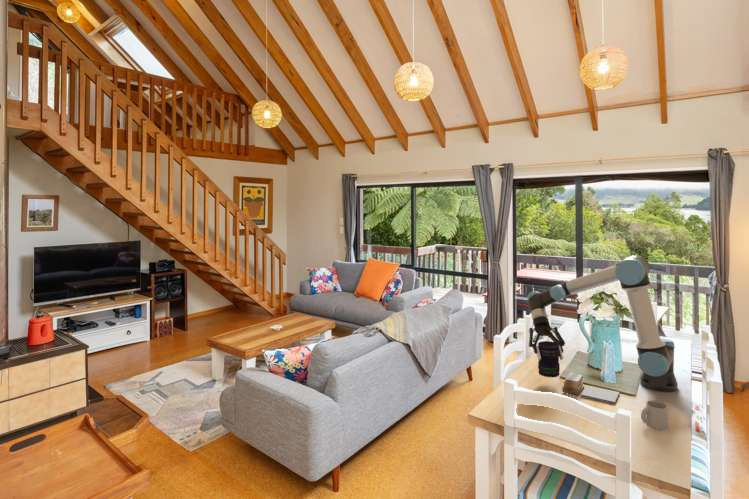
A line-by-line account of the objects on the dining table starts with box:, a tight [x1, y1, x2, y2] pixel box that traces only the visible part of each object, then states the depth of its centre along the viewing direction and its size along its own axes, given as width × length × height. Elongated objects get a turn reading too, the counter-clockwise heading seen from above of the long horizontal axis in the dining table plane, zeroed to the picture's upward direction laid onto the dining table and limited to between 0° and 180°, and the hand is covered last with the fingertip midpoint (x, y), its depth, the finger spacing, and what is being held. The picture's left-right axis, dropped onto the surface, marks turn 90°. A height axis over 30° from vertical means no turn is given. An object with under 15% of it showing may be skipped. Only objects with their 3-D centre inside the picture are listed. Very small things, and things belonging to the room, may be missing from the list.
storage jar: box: [537, 340, 561, 378], centre depth 212 cm, size 10×10×15 cm
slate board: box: [580, 385, 620, 405], centre depth 199 cm, size 14×12×1 cm
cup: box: [640, 400, 669, 431], centre depth 170 cm, size 7×10×9 cm
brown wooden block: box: [561, 372, 585, 397], centre depth 205 cm, size 7×12×6 cm, turn 142°
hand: (550, 359), depth 208 cm, fingers closed on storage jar, 10 cm apart
